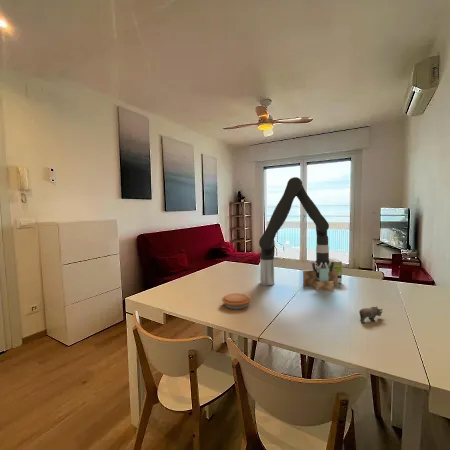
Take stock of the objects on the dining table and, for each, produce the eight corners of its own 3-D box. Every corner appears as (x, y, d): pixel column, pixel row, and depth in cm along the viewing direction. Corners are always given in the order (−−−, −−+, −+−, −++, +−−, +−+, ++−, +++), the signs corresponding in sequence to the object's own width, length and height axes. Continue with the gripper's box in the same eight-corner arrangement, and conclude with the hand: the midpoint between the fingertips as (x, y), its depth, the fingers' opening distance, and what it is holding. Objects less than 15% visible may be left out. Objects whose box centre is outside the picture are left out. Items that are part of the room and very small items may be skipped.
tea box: (342, 283, 170) (342, 261, 169) (327, 283, 170) (327, 261, 169) (333, 277, 185) (333, 257, 184) (319, 277, 185) (319, 257, 184)
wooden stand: (307, 290, 157) (307, 274, 157) (303, 285, 167) (303, 270, 167) (343, 289, 156) (343, 273, 156) (336, 284, 167) (336, 269, 166)
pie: (230, 313, 125) (230, 303, 125) (217, 303, 139) (216, 294, 138) (256, 307, 132) (256, 298, 132) (241, 298, 146) (241, 290, 145)
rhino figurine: (387, 319, 114) (387, 306, 114) (364, 324, 110) (364, 311, 109) (378, 315, 118) (378, 303, 118) (356, 320, 114) (356, 307, 113)
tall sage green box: (320, 281, 158) (320, 265, 158) (317, 278, 165) (316, 262, 164) (328, 281, 158) (328, 265, 158) (324, 278, 165) (324, 262, 164)
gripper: (313, 252, 157) (313, 279, 158) (336, 252, 156) (336, 279, 157) (309, 250, 164) (309, 276, 165) (331, 250, 164) (331, 276, 165)
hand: (322, 277), depth 161 cm, fingers closed on tall sage green box, 5 cm apart
